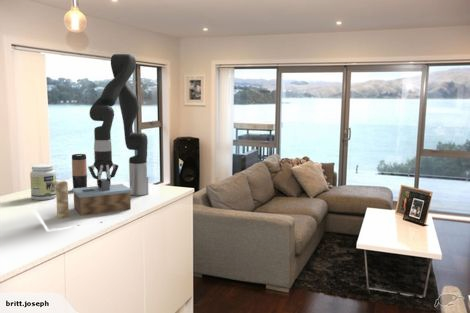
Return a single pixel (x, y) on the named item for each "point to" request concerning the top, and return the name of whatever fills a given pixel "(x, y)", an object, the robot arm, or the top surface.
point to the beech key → (62, 199)
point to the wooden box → (102, 203)
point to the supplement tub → (43, 182)
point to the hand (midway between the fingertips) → (104, 186)
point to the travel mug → (79, 170)
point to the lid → (101, 189)
